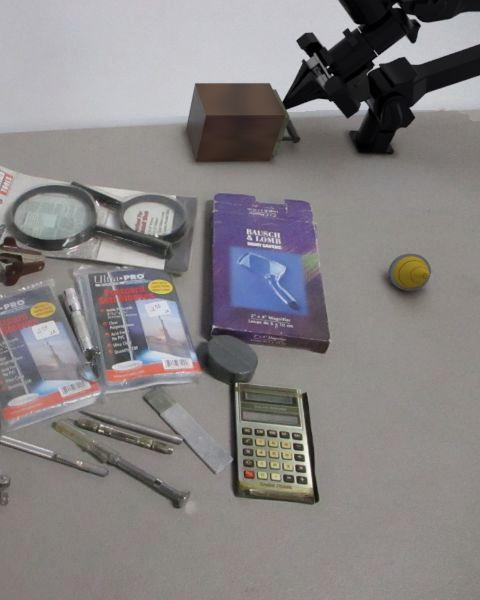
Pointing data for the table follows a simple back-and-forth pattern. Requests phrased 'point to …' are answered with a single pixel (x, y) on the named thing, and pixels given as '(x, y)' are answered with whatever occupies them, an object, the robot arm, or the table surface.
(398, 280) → the yellow tiered knob
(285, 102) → the robot arm
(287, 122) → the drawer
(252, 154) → the cabinet
